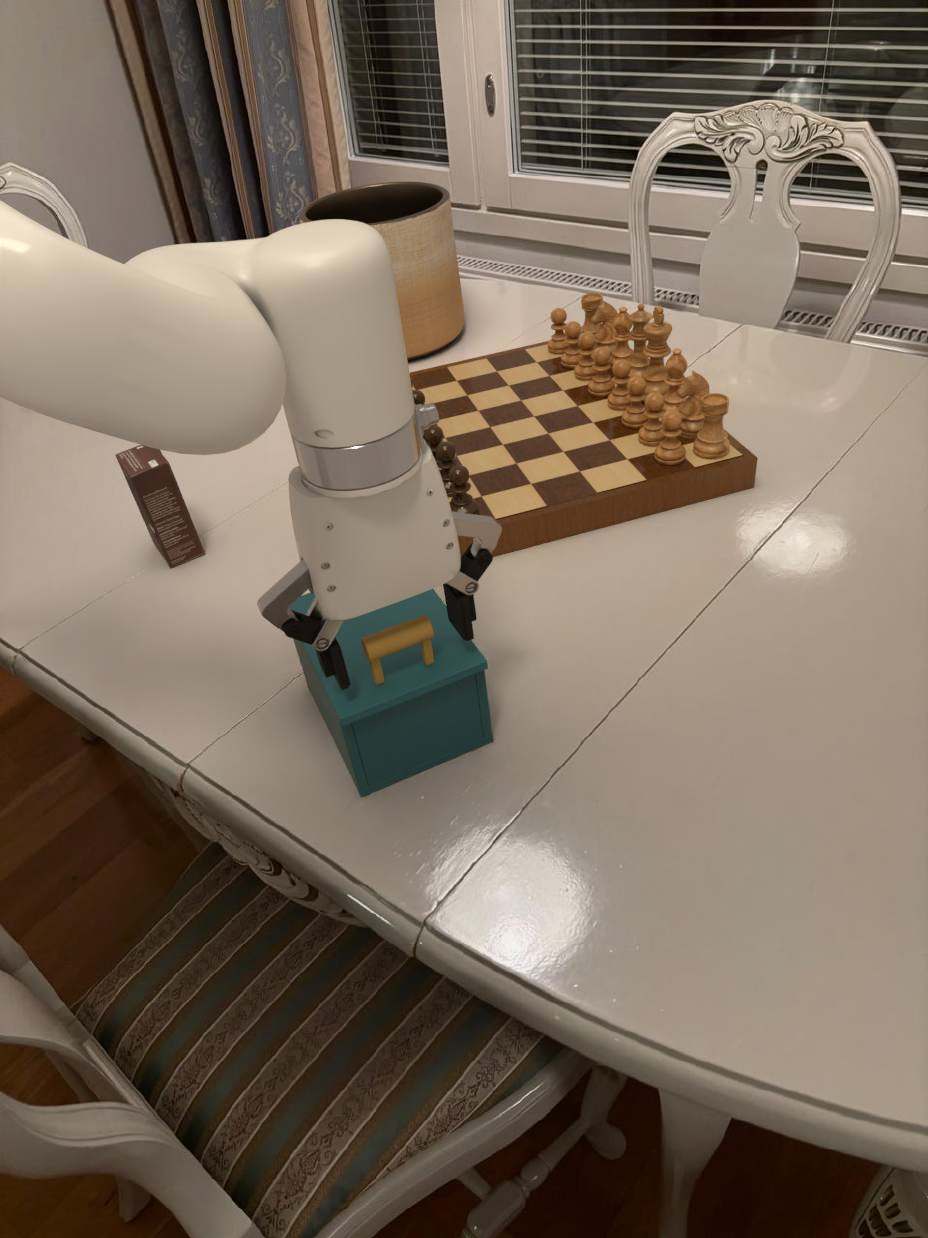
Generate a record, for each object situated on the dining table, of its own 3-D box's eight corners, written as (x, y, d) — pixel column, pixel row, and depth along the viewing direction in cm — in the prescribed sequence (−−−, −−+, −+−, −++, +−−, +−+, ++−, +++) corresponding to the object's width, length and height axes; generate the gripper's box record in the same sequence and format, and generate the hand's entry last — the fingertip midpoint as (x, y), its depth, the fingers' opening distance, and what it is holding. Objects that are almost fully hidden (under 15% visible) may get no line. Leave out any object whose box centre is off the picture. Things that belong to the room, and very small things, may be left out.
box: (151, 546, 100) (113, 453, 92) (189, 531, 102) (154, 438, 94) (167, 571, 96) (129, 475, 88) (206, 555, 97) (172, 459, 90)
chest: (493, 741, 72) (483, 662, 66) (361, 797, 69) (339, 720, 63) (424, 640, 83) (411, 564, 77) (307, 685, 80) (284, 610, 74)
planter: (350, 312, 149) (325, 184, 136) (477, 308, 144) (464, 176, 131) (307, 369, 133) (274, 230, 120) (449, 367, 128) (431, 222, 115)
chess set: (604, 352, 126) (604, 246, 117) (754, 487, 96) (769, 358, 87) (332, 416, 120) (308, 309, 111) (400, 581, 90) (376, 453, 81)
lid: (488, 668, 66) (482, 617, 63) (342, 727, 63) (328, 676, 60) (411, 564, 77) (402, 516, 74) (284, 609, 74) (269, 561, 71)
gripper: (461, 382, 58) (485, 586, 69) (205, 461, 54) (274, 665, 65) (513, 427, 53) (530, 640, 64) (233, 519, 48) (303, 731, 59)
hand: (401, 653), depth 64 cm, fingers open, 9 cm apart
